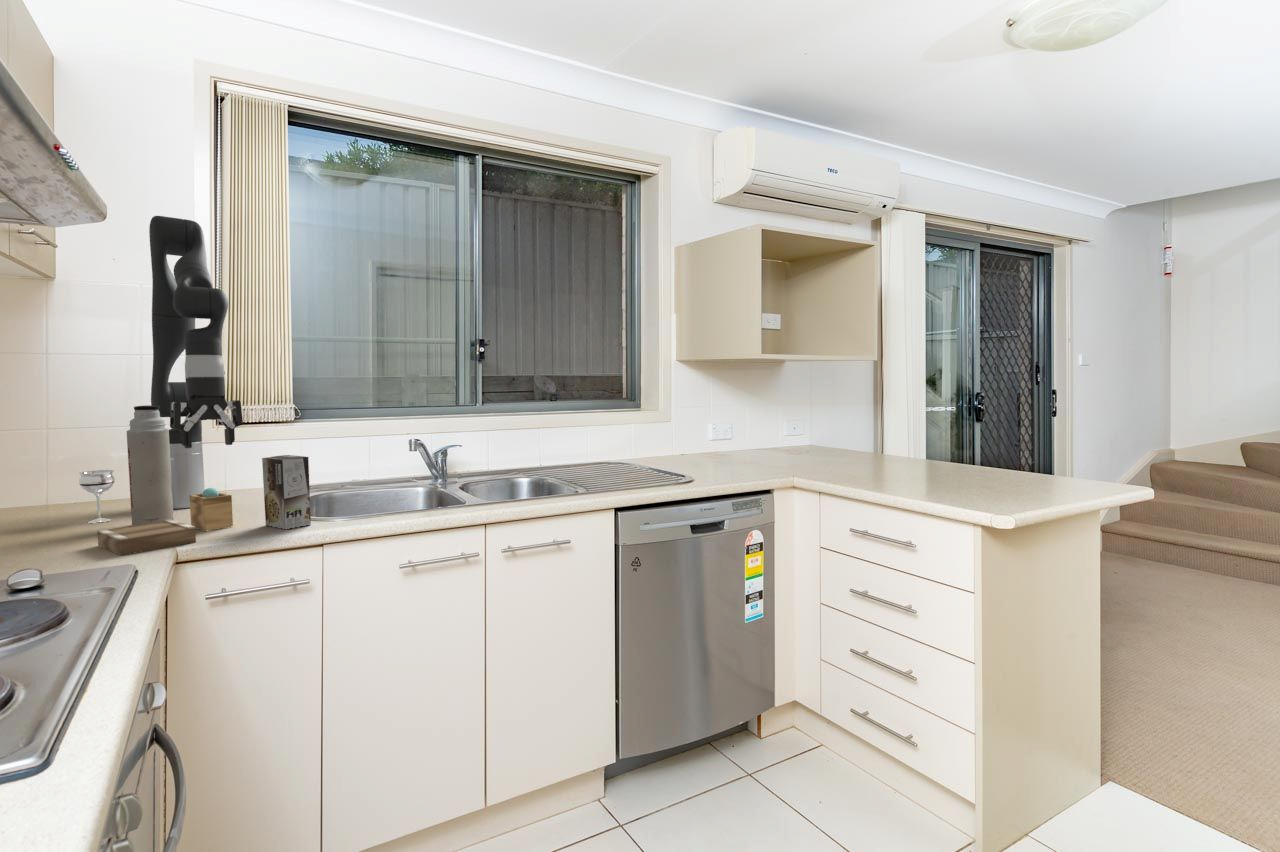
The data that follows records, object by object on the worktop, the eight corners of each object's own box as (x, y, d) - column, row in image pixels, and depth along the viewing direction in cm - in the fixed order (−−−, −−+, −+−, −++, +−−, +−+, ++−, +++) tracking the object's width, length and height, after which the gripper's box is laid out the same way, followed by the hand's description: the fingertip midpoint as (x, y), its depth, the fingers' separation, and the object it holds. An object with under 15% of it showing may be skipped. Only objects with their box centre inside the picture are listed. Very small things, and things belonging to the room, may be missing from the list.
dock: (98, 545, 139) (97, 530, 139) (170, 533, 149) (170, 519, 149) (121, 555, 131) (120, 538, 131) (195, 542, 142) (195, 526, 142)
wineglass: (124, 518, 166) (121, 469, 166) (102, 524, 160) (99, 473, 159) (97, 518, 167) (94, 469, 166) (73, 524, 160) (70, 473, 159)
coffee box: (312, 525, 158) (309, 456, 157) (285, 530, 153) (282, 459, 152) (291, 520, 163) (288, 454, 162) (264, 525, 158) (261, 456, 157)
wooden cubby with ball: (191, 527, 157) (189, 495, 156) (217, 523, 161) (216, 491, 161) (206, 531, 152) (204, 498, 152) (232, 527, 157) (231, 495, 156)
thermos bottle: (126, 529, 154) (119, 406, 152) (138, 522, 162) (131, 405, 159) (168, 526, 157) (161, 405, 155) (177, 520, 164) (171, 404, 162)
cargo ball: (200, 502, 156) (199, 488, 156) (215, 500, 158) (214, 486, 158) (206, 503, 154) (205, 489, 154) (221, 501, 157) (220, 487, 156)
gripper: (230, 376, 162) (234, 443, 163) (162, 375, 151) (166, 448, 152) (245, 375, 158) (249, 444, 159) (176, 375, 147) (180, 449, 147)
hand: (208, 446), depth 155 cm, fingers open, 8 cm apart
